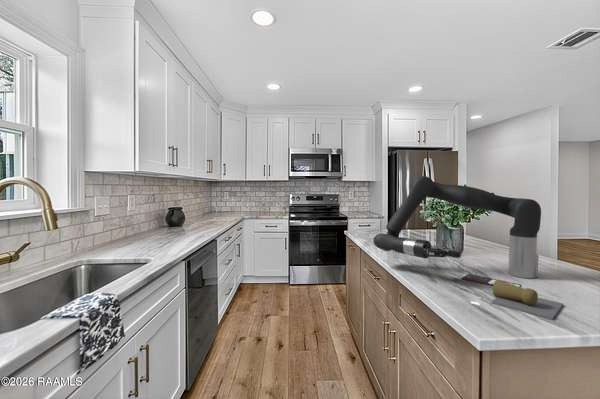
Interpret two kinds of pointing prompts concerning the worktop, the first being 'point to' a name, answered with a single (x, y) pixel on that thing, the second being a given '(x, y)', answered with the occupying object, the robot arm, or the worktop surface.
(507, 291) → the cork
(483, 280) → the chocolate bar
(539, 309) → the mat
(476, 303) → the worktop surface
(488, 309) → the worktop surface
